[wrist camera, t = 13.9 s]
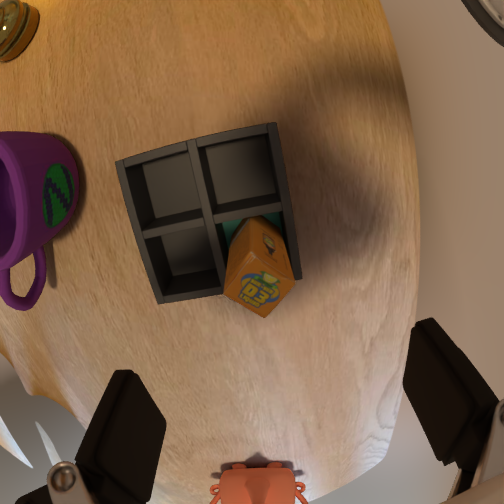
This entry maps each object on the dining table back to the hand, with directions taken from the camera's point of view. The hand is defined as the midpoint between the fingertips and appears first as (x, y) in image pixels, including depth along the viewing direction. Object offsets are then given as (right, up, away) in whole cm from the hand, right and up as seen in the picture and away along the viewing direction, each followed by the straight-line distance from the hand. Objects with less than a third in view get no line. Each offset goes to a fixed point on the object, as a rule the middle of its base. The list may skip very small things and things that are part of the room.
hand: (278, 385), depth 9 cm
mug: (-22, +9, +17) cm, 29 cm away
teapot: (0, -36, +34) cm, 49 cm away
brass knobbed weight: (-28, +30, +9) cm, 42 cm away
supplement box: (-1, +6, +17) cm, 18 cm away
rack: (-4, +8, +17) cm, 19 cm away
